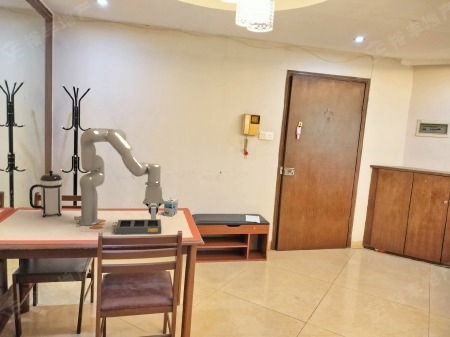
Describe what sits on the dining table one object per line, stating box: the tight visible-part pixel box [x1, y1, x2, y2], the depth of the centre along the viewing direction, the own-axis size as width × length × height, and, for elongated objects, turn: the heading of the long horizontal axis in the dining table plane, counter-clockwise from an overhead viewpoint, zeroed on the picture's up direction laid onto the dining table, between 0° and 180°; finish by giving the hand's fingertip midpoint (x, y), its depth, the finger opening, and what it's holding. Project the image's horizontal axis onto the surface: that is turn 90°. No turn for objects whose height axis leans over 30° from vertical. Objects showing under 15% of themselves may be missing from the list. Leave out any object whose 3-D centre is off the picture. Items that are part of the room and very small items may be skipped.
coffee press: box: [28, 170, 65, 218], centre depth 217 cm, size 17×16×30 cm
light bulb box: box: [163, 197, 179, 217], centre depth 236 cm, size 11×7×11 cm, turn 168°
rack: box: [115, 218, 162, 236], centre depth 200 cm, size 26×16×4 cm, turn 103°
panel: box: [150, 203, 157, 219], centre depth 200 cm, size 3×10×7 cm, turn 13°
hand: (153, 213), depth 201 cm, fingers closed on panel, 3 cm apart
